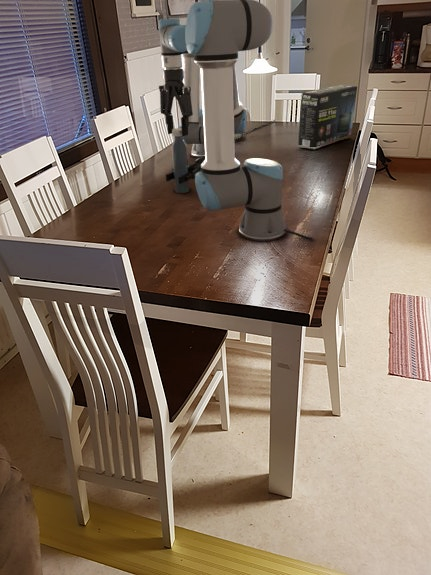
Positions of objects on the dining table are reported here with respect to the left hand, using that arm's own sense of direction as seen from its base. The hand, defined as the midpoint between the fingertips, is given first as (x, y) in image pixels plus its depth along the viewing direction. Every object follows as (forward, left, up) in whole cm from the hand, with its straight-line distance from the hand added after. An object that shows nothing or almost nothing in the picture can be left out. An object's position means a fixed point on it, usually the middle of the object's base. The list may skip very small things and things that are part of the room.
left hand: (173, 179), depth 181 cm
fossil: (-94, +9, -6) cm, 95 cm away
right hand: (-5, +2, +16) cm, 17 cm away
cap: (-5, +2, +18) cm, 18 cm away
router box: (-84, +62, -6) cm, 105 cm away
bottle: (-5, +2, -6) cm, 8 cm away
